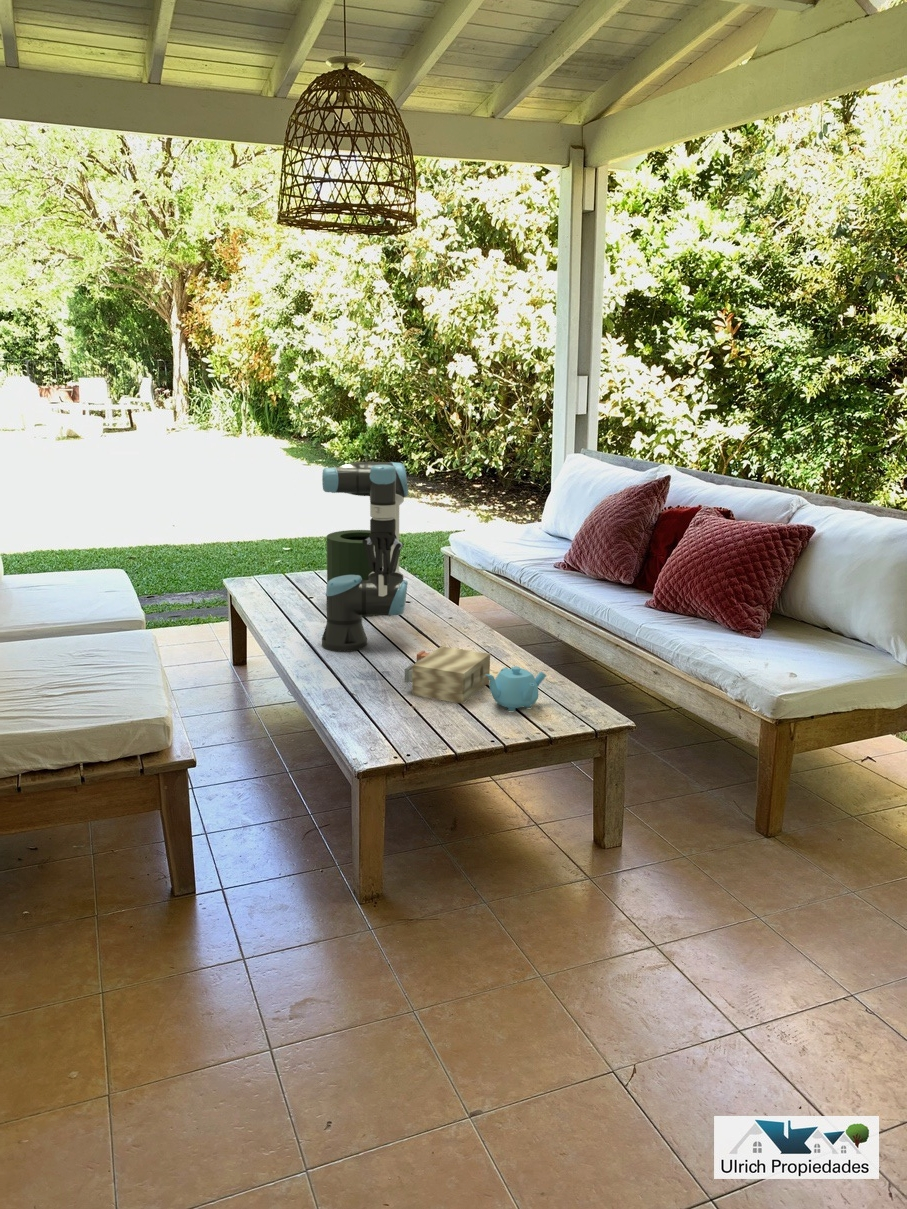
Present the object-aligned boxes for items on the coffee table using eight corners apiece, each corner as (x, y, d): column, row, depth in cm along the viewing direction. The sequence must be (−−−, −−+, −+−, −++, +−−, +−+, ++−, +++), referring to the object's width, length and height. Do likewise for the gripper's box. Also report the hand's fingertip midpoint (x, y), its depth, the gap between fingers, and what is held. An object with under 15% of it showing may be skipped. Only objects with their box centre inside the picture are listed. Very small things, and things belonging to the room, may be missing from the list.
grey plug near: (404, 682, 278) (404, 669, 277) (410, 678, 281) (410, 665, 280) (458, 691, 271) (458, 678, 270) (463, 687, 275) (464, 674, 274)
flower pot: (406, 606, 370) (407, 535, 362) (366, 621, 349) (366, 545, 342) (355, 596, 383) (354, 527, 375) (313, 610, 362) (312, 537, 355)
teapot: (531, 718, 261) (533, 679, 258) (483, 711, 265) (484, 672, 262) (545, 700, 275) (547, 662, 272) (500, 693, 279) (501, 656, 276)
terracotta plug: (416, 666, 291) (416, 654, 290) (422, 663, 295) (422, 650, 294) (467, 675, 285) (468, 662, 284) (472, 671, 288) (473, 658, 287)
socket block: (412, 694, 277) (412, 665, 274) (440, 674, 294) (441, 646, 292) (463, 703, 271) (463, 673, 268) (489, 682, 288) (490, 653, 286)
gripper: (357, 518, 282) (357, 595, 288) (396, 522, 277) (396, 600, 283) (369, 514, 289) (369, 590, 295) (408, 518, 284) (407, 595, 290)
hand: (382, 595), depth 289 cm, fingers closed
